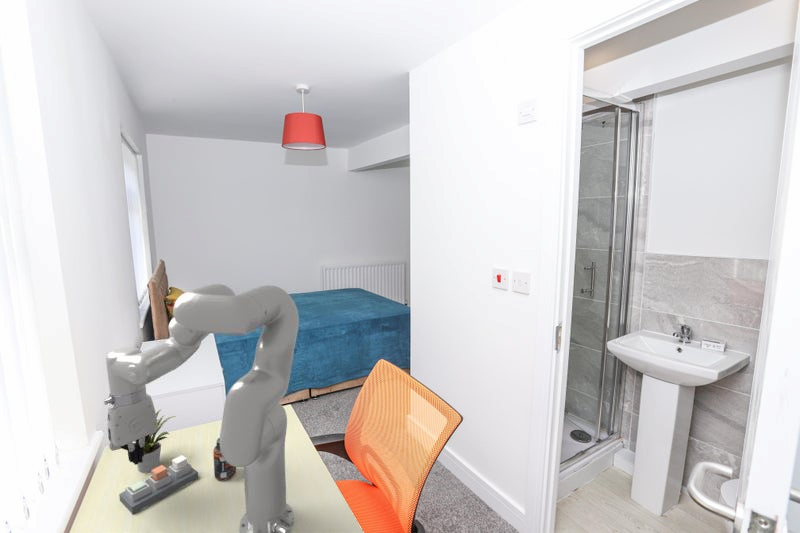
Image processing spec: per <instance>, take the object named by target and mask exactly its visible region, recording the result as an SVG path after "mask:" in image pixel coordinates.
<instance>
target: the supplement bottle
mask: <svg viewBox="0 0 800 533" xmlns="http://www.w3.org/2000/svg"><path fill="white" fill-rule="evenodd" d="M212 454H213V471H214V474H213V475H214V478H215V479H216V480H217V481H227V480H230V479H232V478H233V477H234V476H235V475H236V474H237V467H234V466H232V465H230V464H228V463H227V462H226V461H225V459H224V458H223V456H222V454H221V451H220V437H218V438H217V439H216V445H215V446H214V448H213V451H212Z"/></svg>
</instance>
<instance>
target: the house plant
mask: <svg viewBox="0 0 800 533" xmlns="http://www.w3.org/2000/svg"><path fill="white" fill-rule="evenodd" d="M161 411H162V409H159V410H158V411H156V417H157V418H158V416H159V413H160V412H161ZM165 416H166V414H165V415H162V416H161V417H160V418H159V419H157V423H158V428H157V432H155V433H154V434H152V435H151V436H149V437H148V439H147V440H146V442H145V445H144V446H143V452H144V456H143V457H142V460H143V462H141V463H138V464H137V465H136V466H137V468H138V471H139V473H141V474H146V473H151V470H153V469H155V468H157V467H159V466H160V460H161V451H162V450H161V449H162V443H161V442H159V441H163V440H164V439H168V437H167V436H165V435H169V436H170V433H169V432H168V431H163V432H161V433H160V434H158V436H157V437H156V435H157V433H158V432H159V431H160V430H161V429H162V427H163V426H164V424H165V423H166V422H168V420H170V419H172V418H175V417H176V415H173V416H169V417H167V418H165ZM163 418H165V420H163ZM162 420H163V421H162ZM161 421H162V422H161ZM133 445H135V441H133Z"/></svg>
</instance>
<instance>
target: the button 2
mask: <svg viewBox="0 0 800 533" xmlns="http://www.w3.org/2000/svg"><path fill="white" fill-rule="evenodd" d="M167 470H168V469H167V467H165V466H164V465H162V464H161V465H159V466H158V467H157V468H155V469H153V470H151V472H150V473H151V475H152V479H153V480H154V481H156V482H157V481H159V480H161V479H162V478H164V477H166V476H167Z"/></svg>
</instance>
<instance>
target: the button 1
mask: <svg viewBox="0 0 800 533" xmlns="http://www.w3.org/2000/svg"><path fill="white" fill-rule="evenodd" d="M128 487H129V489H130V491H131V492H132V493H135V492H137V491H139V490H141V489H143V488H145V487H146V485H145V484H144V483H143V482H142V481H141V480H139V481H137V482H135V483H133V484H131V485H129V486H128Z"/></svg>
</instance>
